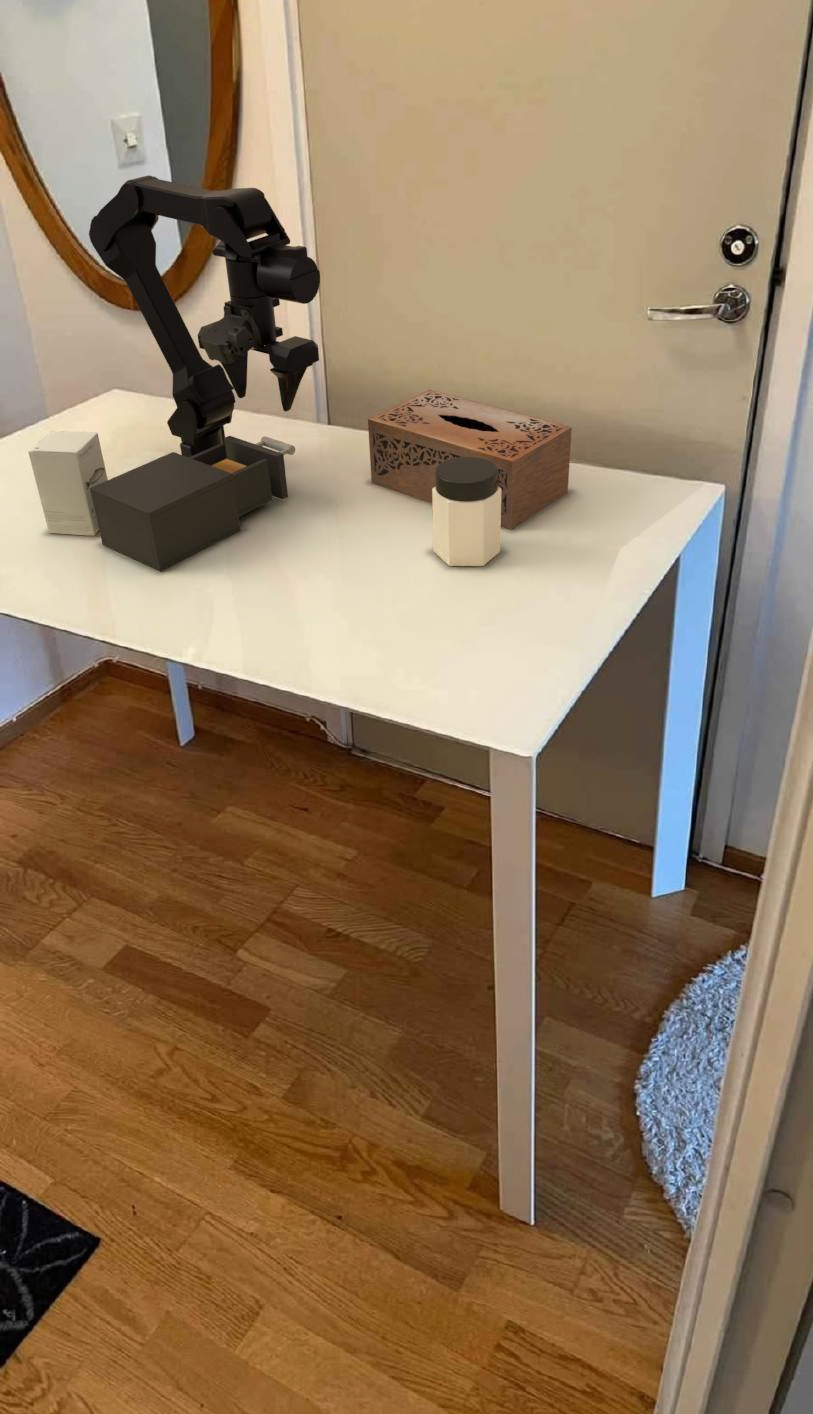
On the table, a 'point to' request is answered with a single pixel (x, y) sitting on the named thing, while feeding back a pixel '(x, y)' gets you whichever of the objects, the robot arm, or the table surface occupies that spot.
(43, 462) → the white packaging box
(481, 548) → the jar
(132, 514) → the brown drawer box
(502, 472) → the tissue box cover
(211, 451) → the dark brown drawer
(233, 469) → the block
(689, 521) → the table surface
